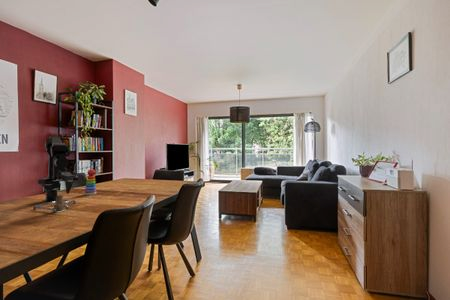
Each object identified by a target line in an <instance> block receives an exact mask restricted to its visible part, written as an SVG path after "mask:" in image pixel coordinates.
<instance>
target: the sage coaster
mask: <svg viewBox="0 0 450 300" xmlns="http://www.w3.org/2000/svg"><path fill="white" fill-rule="evenodd" d="M66 211H67V210H66V208H65V209H64V208H63V210H62V211H56V213H62V212H66ZM51 212H52V213H53V210H51Z"/></svg>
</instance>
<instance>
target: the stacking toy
mask: <svg viewBox="0 0 450 300" xmlns="http://www.w3.org/2000/svg"><path fill="white" fill-rule="evenodd" d="M86 173H87V176H86V178H87V179H86V182H85V183H86V184H85V189H84V192H83V193H84V195H85V196H94V195H96V194H97V185H96V182H97V181H96V176H95V174H96V170H95V169H93V168H91V169H89V170H88V171H87V172H86Z"/></svg>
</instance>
